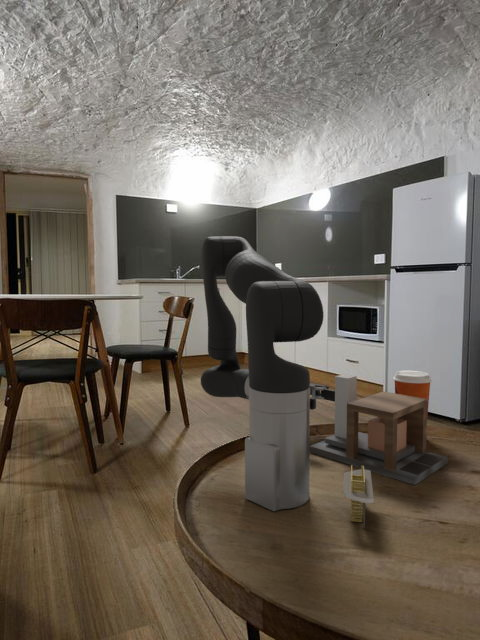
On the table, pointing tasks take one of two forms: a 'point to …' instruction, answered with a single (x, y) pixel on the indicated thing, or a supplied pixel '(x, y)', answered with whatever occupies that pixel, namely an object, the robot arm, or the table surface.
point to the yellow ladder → (359, 496)
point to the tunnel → (388, 438)
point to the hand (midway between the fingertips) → (327, 400)
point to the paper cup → (413, 384)
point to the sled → (376, 427)
